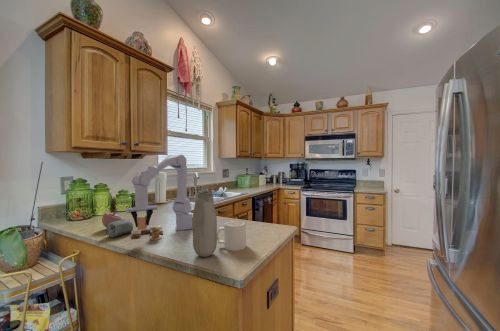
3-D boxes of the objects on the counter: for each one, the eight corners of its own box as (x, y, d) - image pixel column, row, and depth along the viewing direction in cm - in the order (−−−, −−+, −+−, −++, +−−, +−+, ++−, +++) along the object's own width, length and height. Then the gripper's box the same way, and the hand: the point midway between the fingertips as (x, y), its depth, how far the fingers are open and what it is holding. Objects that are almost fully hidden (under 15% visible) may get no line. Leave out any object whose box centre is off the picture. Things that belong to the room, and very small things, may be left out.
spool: (111, 234, 121) (111, 215, 125) (102, 240, 125) (103, 221, 130) (137, 234, 131) (136, 217, 136) (128, 239, 136) (128, 222, 140)
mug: (216, 251, 104) (216, 227, 104) (217, 243, 115) (217, 221, 114) (247, 250, 106) (246, 226, 106) (245, 242, 116) (245, 220, 116)
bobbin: (161, 235, 128) (161, 224, 127) (162, 239, 122) (161, 227, 122) (149, 237, 125) (149, 226, 125) (149, 240, 120) (149, 229, 120)
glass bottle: (217, 259, 96) (216, 190, 96) (192, 261, 95) (190, 191, 94) (217, 250, 106) (216, 187, 106) (193, 251, 105) (192, 188, 104)
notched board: (162, 231, 137) (161, 227, 136) (162, 234, 130) (162, 230, 130) (133, 234, 131) (133, 230, 131) (132, 238, 124) (132, 234, 124)
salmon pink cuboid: (146, 227, 119) (146, 215, 119) (145, 229, 116) (145, 217, 116) (139, 227, 119) (139, 216, 118) (137, 229, 115) (137, 217, 115)
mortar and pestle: (126, 229, 141) (125, 210, 141) (102, 233, 134) (102, 213, 134) (123, 225, 151) (123, 207, 151) (101, 228, 144) (101, 209, 144)
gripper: (155, 196, 124) (156, 221, 124) (124, 198, 117) (125, 226, 117) (158, 197, 118) (158, 224, 118) (125, 200, 111) (126, 229, 111)
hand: (142, 225), depth 117 cm, fingers closed on salmon pink cuboid, 4 cm apart
